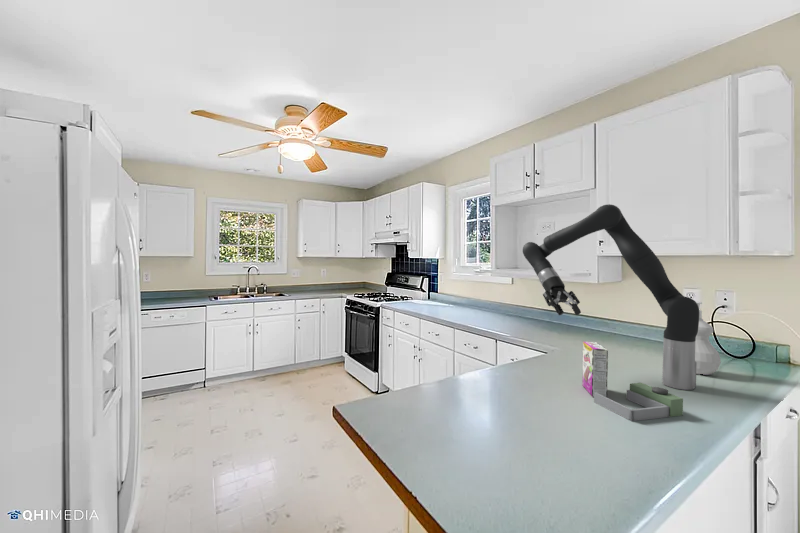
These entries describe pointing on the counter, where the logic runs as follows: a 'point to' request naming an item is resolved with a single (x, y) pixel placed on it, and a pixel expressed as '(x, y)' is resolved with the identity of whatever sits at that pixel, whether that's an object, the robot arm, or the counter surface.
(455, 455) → the counter surface
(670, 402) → the frame with green block
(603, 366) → the candy bar box
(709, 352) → the soap bottle
